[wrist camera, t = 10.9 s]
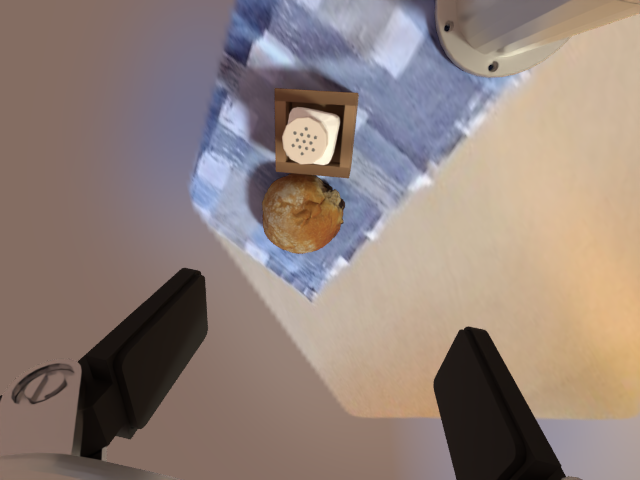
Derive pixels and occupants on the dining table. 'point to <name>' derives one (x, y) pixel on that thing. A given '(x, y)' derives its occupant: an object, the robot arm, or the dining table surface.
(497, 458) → the robot arm
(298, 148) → the pepper shaker
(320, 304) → the dining table surface
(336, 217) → the bread roll
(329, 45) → the dining table surface
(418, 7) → the dining table surface
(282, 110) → the wooden open box
